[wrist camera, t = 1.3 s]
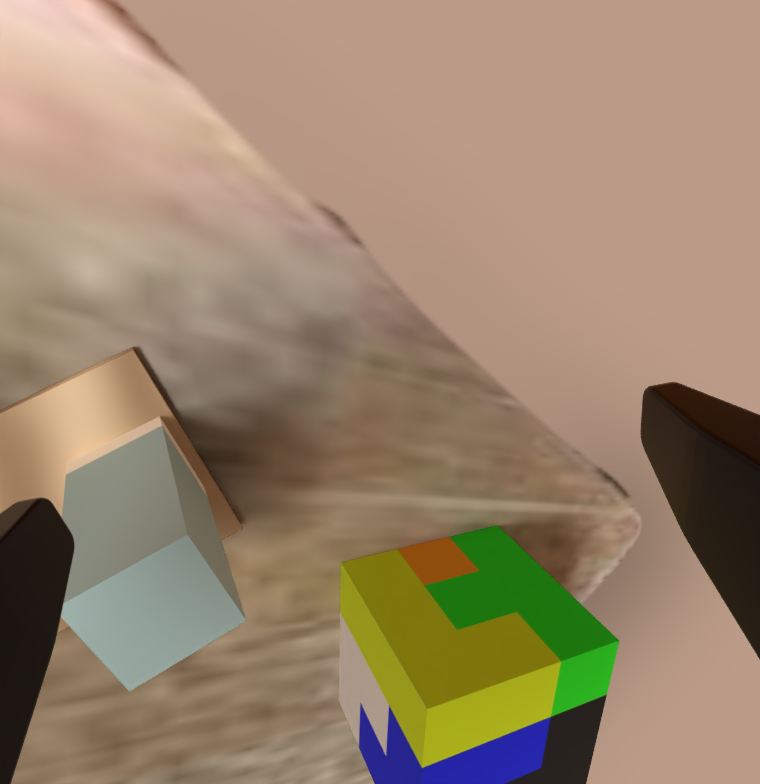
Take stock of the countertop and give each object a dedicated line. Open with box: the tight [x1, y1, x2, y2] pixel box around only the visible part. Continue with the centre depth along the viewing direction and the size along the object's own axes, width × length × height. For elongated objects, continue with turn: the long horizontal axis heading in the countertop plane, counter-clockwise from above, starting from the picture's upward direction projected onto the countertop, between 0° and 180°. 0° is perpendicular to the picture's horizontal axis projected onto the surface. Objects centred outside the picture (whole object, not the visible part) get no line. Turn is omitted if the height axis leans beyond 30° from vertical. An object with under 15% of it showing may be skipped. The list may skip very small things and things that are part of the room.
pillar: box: [61, 416, 246, 692], centre depth 22 cm, size 4×4×9 cm
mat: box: [0, 347, 242, 633], centre depth 25 cm, size 14×10×1 cm
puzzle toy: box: [339, 526, 619, 784], centre depth 32 cm, size 10×10×10 cm
